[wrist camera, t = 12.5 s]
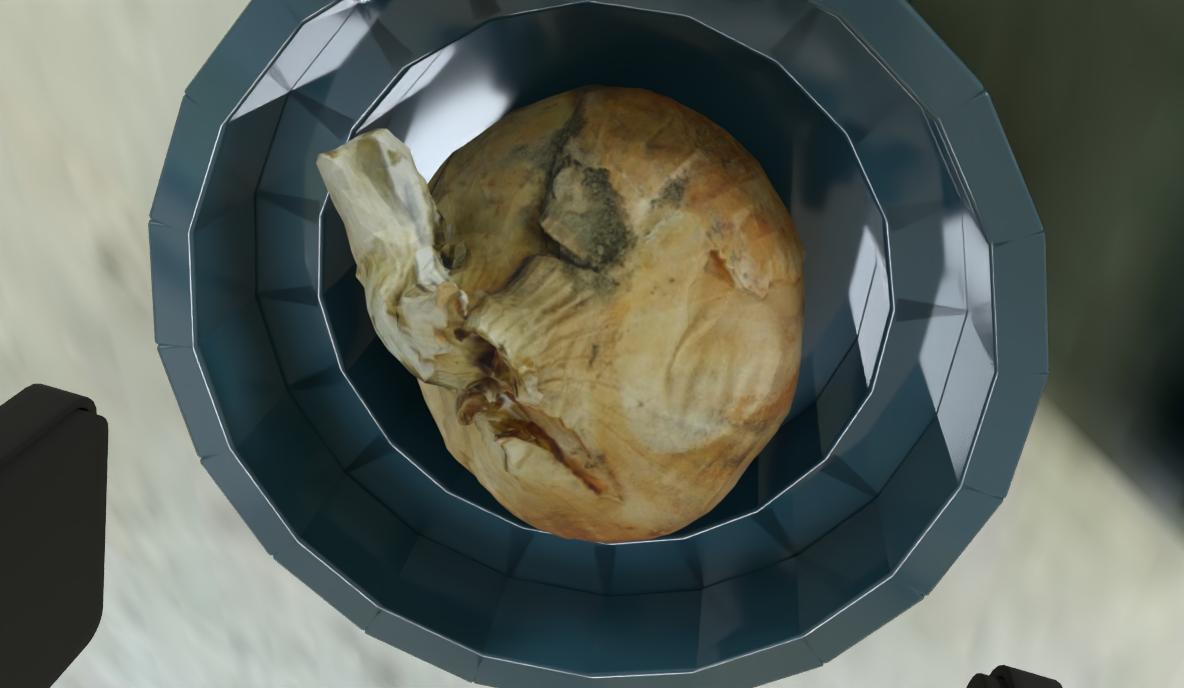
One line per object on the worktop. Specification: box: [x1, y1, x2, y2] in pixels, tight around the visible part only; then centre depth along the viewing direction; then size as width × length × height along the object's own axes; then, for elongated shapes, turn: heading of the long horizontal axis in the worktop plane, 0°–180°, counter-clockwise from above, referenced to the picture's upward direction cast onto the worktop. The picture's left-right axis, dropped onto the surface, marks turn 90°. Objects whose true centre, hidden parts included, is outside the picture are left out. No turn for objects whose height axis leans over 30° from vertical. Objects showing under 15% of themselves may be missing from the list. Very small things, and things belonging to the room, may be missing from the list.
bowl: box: [148, 0, 1049, 688], centre depth 20 cm, size 15×15×6 cm
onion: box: [316, 84, 806, 543], centre depth 18 cm, size 8×8×8 cm
